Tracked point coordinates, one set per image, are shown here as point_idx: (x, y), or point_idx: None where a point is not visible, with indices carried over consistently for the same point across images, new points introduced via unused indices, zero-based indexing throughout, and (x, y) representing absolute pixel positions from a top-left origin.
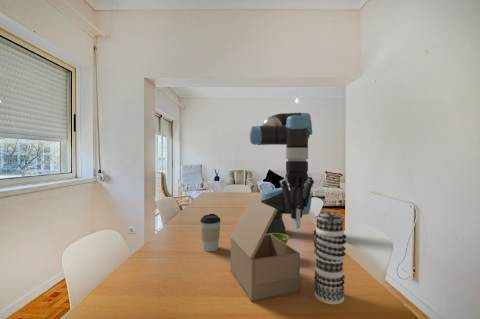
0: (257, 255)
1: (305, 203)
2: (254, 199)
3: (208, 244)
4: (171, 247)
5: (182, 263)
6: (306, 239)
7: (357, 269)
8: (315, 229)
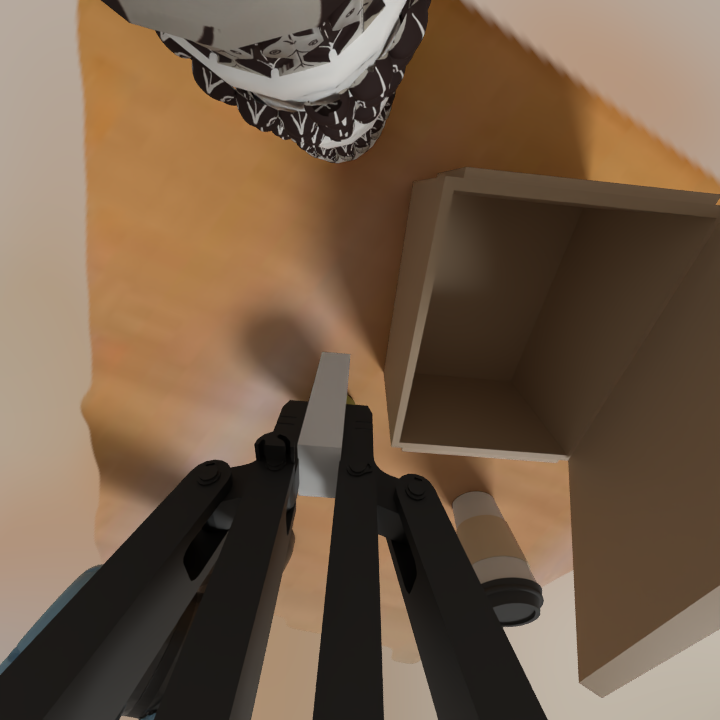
0: (439, 395)
1: (207, 496)
2: (647, 670)
3: (496, 511)
4: (552, 535)
5: None
6: (170, 469)
7: (102, 225)
8: (344, 113)
